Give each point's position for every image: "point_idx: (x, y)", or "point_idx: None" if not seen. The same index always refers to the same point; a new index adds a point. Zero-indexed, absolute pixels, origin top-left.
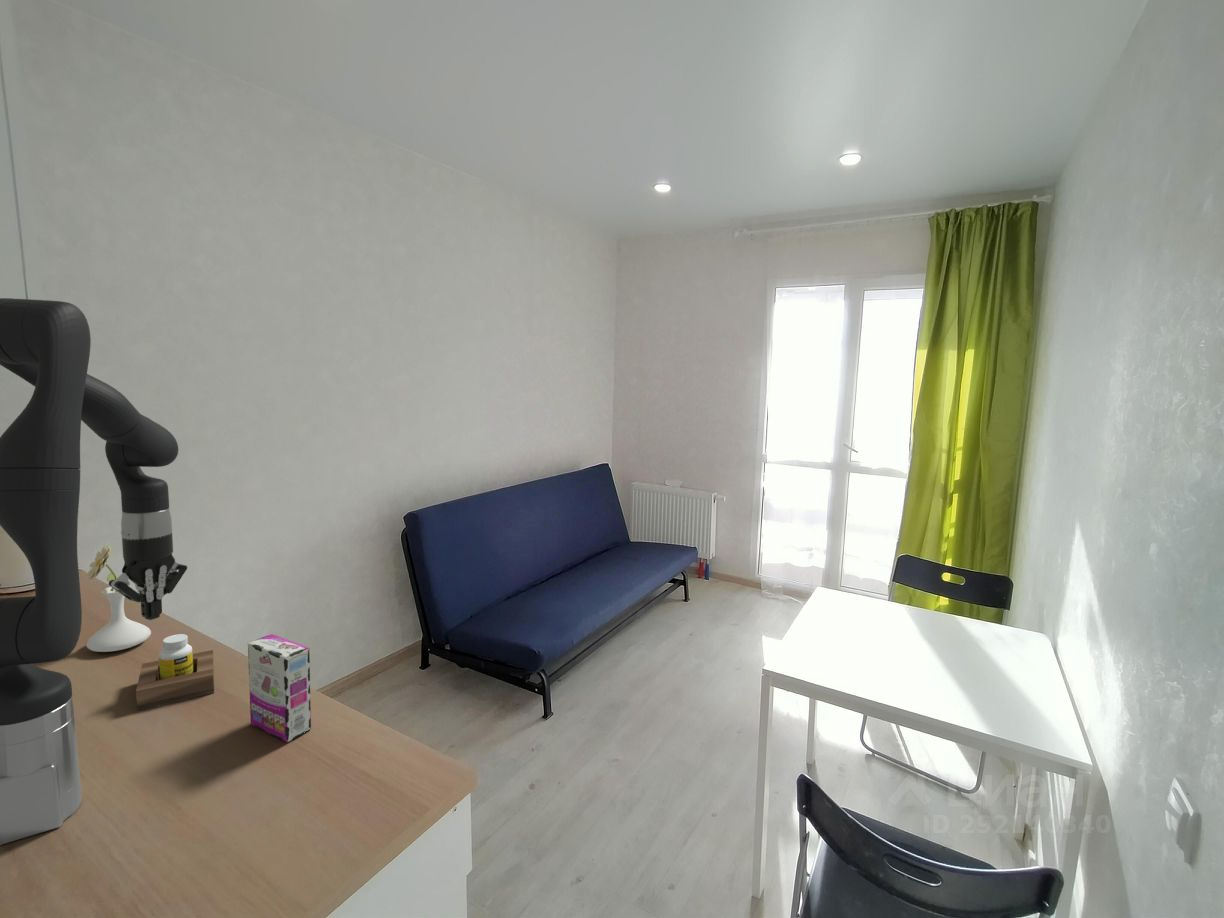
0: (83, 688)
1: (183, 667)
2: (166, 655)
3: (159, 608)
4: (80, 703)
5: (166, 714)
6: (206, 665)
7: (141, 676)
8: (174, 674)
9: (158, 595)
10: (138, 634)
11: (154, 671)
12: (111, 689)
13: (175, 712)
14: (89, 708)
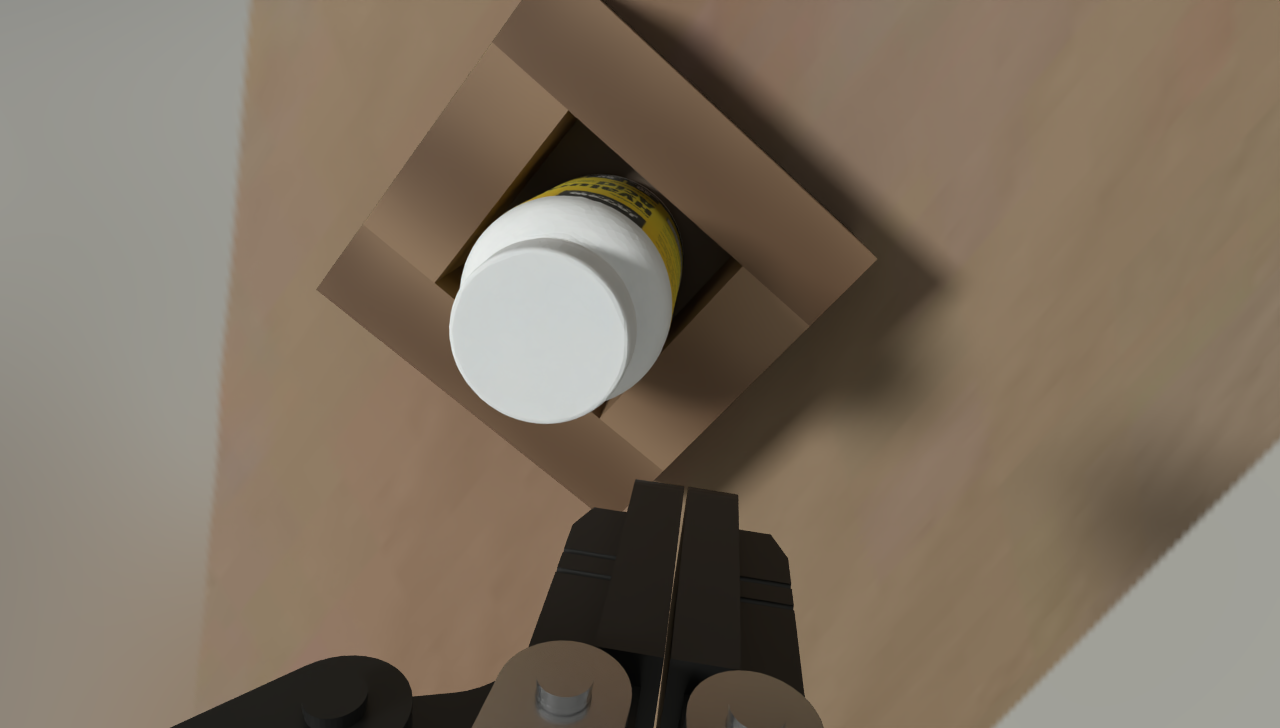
0: None
1: (603, 188)
2: (656, 289)
3: (595, 562)
4: (865, 549)
5: (846, 36)
6: (479, 131)
7: (726, 392)
8: (655, 210)
9: (587, 716)
10: None
11: (656, 377)
12: None
13: (815, 3)
14: (891, 474)
